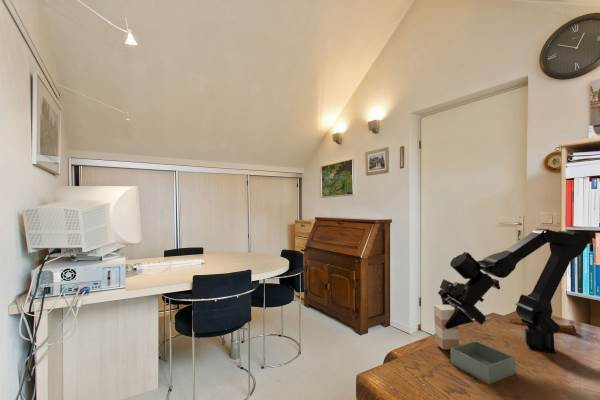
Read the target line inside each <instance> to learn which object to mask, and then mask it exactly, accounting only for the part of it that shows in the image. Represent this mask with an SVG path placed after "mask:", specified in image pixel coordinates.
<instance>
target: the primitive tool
mask: <svg viewBox="0 0 600 400" xmlns="http://www.w3.org/2000/svg"><path fill="white" fill-rule="evenodd" d="M508 323H509V324H514V325H519V326H523V327H526V324H525V323H523V322H522V320H521V318H515V317H514V318H513V317H511V318H509V320H508ZM558 325H559V326H560V329H559V332H558V333H560V332H561V333H565V334H571V335H572V336H576V335H577V329H576V326H575V325H574V324H571V325H569V324H568V325H565V324H558Z"/></svg>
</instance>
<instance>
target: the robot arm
mask: <svg viewBox="0 0 600 400" xmlns="http://www.w3.org/2000/svg"><path fill="white" fill-rule="evenodd" d="M547 243H548V244H549V245H548V246H549V251H550V255H549V257H548V259H547V262H546V263H545V266H544V267H543V269H542V271H541V274H540V276H539V277H538V279H537V281H536V282H535V286H534V287H533V289H532V291H531V293H529V294H527V295H525V294H524V293H523V294H520V296H519V298H518V299H519V300H518V301H517V302H516V303H515V305H516V308H515V312H516V313H517V314H516V315H518V316H517V317H519V319H520V320H522V322H523V323H525V324H526V326H525V328H524V331H523V332H524V342H525V344H526V345H527V346H528V348H529V349H530V350H532V351H539V352H544V353H545V352H546V353H551V354H557V350H556V349H555V334H559V333H560V332H559V329H560V326H559V325H560V324H558V323H557V322H556V321H555V320H554V319H553V318H552V315H553V307H552V299H553V297H554V296H555V294H556V291H557V289H558V287H559V286H560V284H561V281H562V279H563V278H564V276H565V273H566V271H567V269H568V267H569V265H570V263H571V262H572V260H574V259H576V258H577V257H579V256H581V255H582V254H583V252H584V251H585V249H586V248H587V247H588V245H589V240H588V239H587V237H586V236H585V234H583V232H579V231H567V230H565V231H564V230H558V231H556V230H551V229H549V228H548V229H547V228H535V229H533V230H532V231H531V232H530V233H528V234H527V235H526V236H524V237H522V238H521V239H519V240H518V241H517V242H515V243H514V244H513V245H511V246H510V247H508V248H507V249H505V250H503V251H500V252H496V253H493V254H490V255H488V256H486V257H484V258H483V259H482V260H476V259H475V258H474V257H473V256H472V255H471V254H470V253H469V252H468V251H464V252H462V253H461V254H459V255H456V257H453V258H452V260H451V261H450V263H449V266H450V267H451V268H452V269H453V270H454V271H456V273H457V274H459V276H461V277H462V278H463V279H464V280H468V279H469V280H468V281H466V282H465V283H460V282H458V281H455V282H454V283H453V282H451V281H449V280H447V279H445V278H443V279H442V280H441V283H440V286H439V288H440V290H438V292H437V294H438V295H439V296H440V299H441V302H442V304H441V305H451V306H452V307H454V308H455V312H454V314H453V315H452V316H451V318H450V319H449V320H448V322H447V323H446V325H445V328H446V329H449V328H453V327H456V326H458V327H459V326H461V325H466V324H470V323H472V324H474V322H475V323H477V324H479V326H483V324H484V323H486V320H487V319H486V314H485V315H484V313H483V312H482V311H480V310H479V309H478V308H477V307H476V305H477V303H478V302H480V303H483V302H484V301H485V299H484V298H483V297H484V296H485V295H486V294H487V293H488V292H489V291H490V289H491V288H494V289H496V290H500V289H501V285H500V281H499V278H500V279H505V278H507V277H508V276H510V274H511V273H512V272H514V271H515V270H516V267H517V264H518V263H519V262H520V261H522V260H523V259H525V258H527V257H528V256H529V255H532V253H534V252H535V251H537V250H538V249H540V248H542V247H543V246H544V245H547ZM482 271H483V272H482ZM491 276H494V277H497V278H498V279H496V278H493V277H491Z"/></svg>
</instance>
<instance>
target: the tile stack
mask: <svg viewBox="0 0 600 400" xmlns="http://www.w3.org/2000/svg"><path fill="white" fill-rule="evenodd" d="M454 312H455V308H454V307H452V306H451V305H442V304H433V315H434V317H433V318H434V340H435V343H436V344H437V345H438V346H439V347H440V348H441V349H442V350H450V348H452V347H456V346H459V345H460V341H459V326H456V327H453V328H449V329H446V328H445V325H446V323H447V322H448V320H449V319H450V318H451V316H452V315H453V314H454Z"/></svg>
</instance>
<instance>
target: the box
mask: <svg viewBox="0 0 600 400" xmlns="http://www.w3.org/2000/svg"><path fill="white" fill-rule="evenodd" d="M449 350H450V364H452V365H454V366H455V367H457V368H459V369H461V370H462V371H464V372H466V373H469V374H470V375H472V376H473V377H475V378H477V379H479V380H480V381H483V382H485V383H486V384H488V385H490V384H493V383H495V382H498V381H500V380H503V379H505V378H508V377H510V376H513V375H516V374H517V370H516V367H517V366H516V357H515V356H513V355H511V354H508V353H506V352H503V351H501V350H499V349H496V348H494V347H492V346H489V345H488V344H485V343H482V342H481V341H478V340H473V341H470V342H466V343H462V344H459V346H456V347H452V348H450V349H449Z"/></svg>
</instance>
